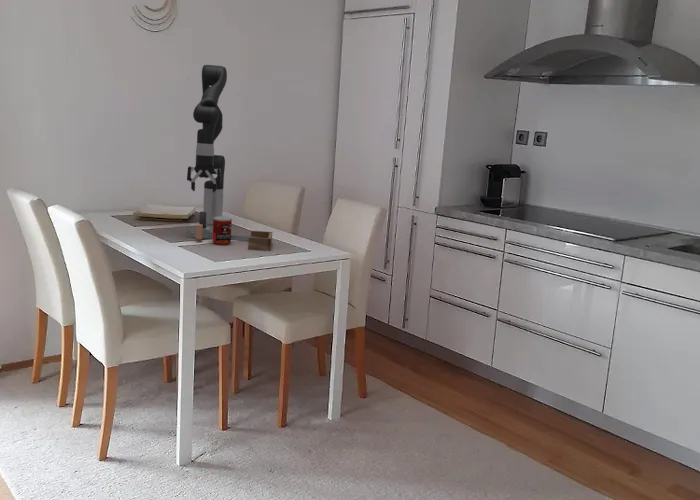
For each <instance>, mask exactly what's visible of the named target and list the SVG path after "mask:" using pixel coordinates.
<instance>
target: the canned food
mask: <svg viewBox="0 0 700 500" xmlns="http://www.w3.org/2000/svg"><path fill="white" fill-rule="evenodd" d="M232 221H233V220H232V217H230V216H223V215H222V216H217V217H214V219H213V224H212V233H213V239H212V243H213V244H214V245H217V246H228V245H230V244H231V241H232V240H231V234H232V224H233V223H232Z"/></svg>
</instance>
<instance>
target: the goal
mask: <svg viewBox="0 0 700 500" xmlns="http://www.w3.org/2000/svg"><path fill="white" fill-rule="evenodd" d="M250 235H251V237H249V241H247V242H248V243H247V249H248V250H251V251H252V250H253V251H266V250H268V252H270V251H271V249H272V244H273V231H262V230H251V231H250Z"/></svg>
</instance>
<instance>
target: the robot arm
mask: <svg viewBox="0 0 700 500" xmlns="http://www.w3.org/2000/svg"><path fill="white" fill-rule="evenodd" d="M227 78H228V72H227V68H226V67H225V66H223V65H217V64H215V65H213V64H204V65H203V66H202V67H201V86H202V89H201V90H202V96H201V100H200V101H199V102H198V104H196V106H195V107H194V109H193V112H192V114H193V115H192V116H193V117H192V118H193V119H194V121H195V122H196V123H199V124H202V125H201V126H202V128H199V129H197V132H196V133H197V134H196V147H195V166H190V165H189V166H188V167H187V174H186V180H187V181H188V182H190V189H191V190H192V192H195V191H196V180H197V179H198V178H202V179H203V178H205V179H208V178H209V179H210V180H206V181H205V182H204V184H203V211H202V212H207V213H206V225H213V219H214V217H217V216H223V207H224V206H223V205H224V184H225V183H224V182H225V180H224V179H225V169H226V158H225V156H224V155H220V154H215V145H214V144H215V141H216V140H217V138H219V136H220V134H221V132H222V130H223V117H224V116H223V113H222V111H221V108H220V107H219V104H218V103H219V99H220V96H221V94H222V92H223V91H224V88H225V87H226V84H227ZM193 172H195V173H196V174H195V175H194V176H193V178H191V177H192V173H193ZM214 175H217V176H216V177H215V176H214Z"/></svg>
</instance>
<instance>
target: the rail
mask: <svg viewBox="0 0 700 500" xmlns="http://www.w3.org/2000/svg"><path fill="white" fill-rule="evenodd" d="M194 232H195V231H192V227H187V228H186V234H185V237H186V238H194V239H196V237H194ZM249 237H251V234H250V235H249V234H235V233H234V234H233V233H231V241H238V242H239V241H242V242H248V241H249ZM207 239H211V240H213V232H210V233H209V238H206V240H207Z"/></svg>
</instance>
